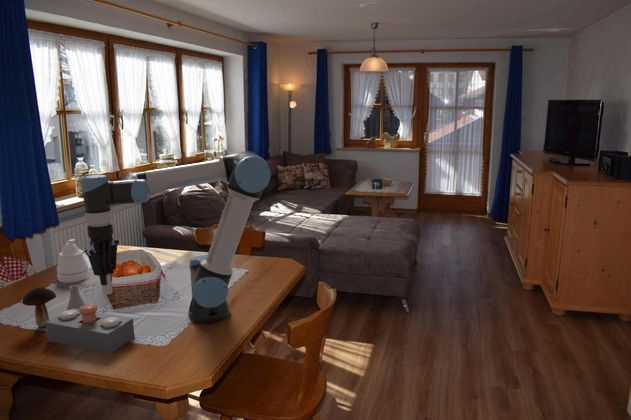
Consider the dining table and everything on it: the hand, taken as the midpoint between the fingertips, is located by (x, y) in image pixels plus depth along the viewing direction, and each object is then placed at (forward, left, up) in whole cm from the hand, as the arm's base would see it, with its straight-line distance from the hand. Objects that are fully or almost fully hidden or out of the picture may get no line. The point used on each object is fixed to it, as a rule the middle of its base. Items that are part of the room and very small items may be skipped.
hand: (107, 292), depth 172 cm
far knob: (+18, 0, -18) cm, 25 cm away
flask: (+32, -17, -18) cm, 41 cm away
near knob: (0, 0, -18) cm, 18 cm away
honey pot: (+61, -45, -18) cm, 78 cm away
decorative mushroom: (+33, -2, -18) cm, 38 cm away
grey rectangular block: (+9, 0, -18) cm, 20 cm away
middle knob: (+9, 0, -14) cm, 17 cm away
